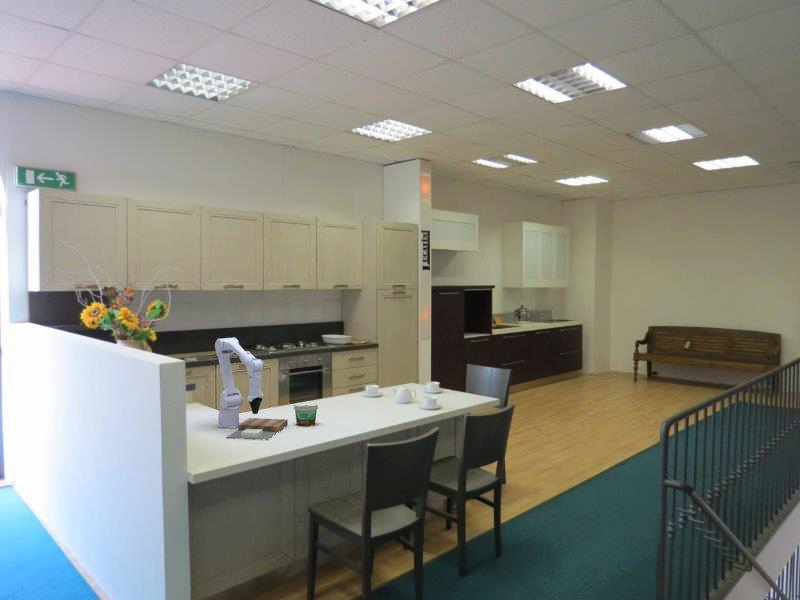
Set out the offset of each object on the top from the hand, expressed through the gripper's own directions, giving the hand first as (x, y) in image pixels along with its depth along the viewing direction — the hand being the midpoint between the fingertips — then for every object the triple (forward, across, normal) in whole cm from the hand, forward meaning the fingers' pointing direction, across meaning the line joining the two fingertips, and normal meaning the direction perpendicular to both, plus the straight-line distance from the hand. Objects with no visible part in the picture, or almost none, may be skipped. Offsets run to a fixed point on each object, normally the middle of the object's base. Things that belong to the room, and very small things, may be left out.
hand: (255, 413), depth 266 cm
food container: (+10, +18, -19) cm, 28 cm away
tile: (+7, -5, -1) cm, 9 cm away
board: (+9, +9, 0) cm, 13 cm away
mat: (+9, -4, 0) cm, 10 cm away
